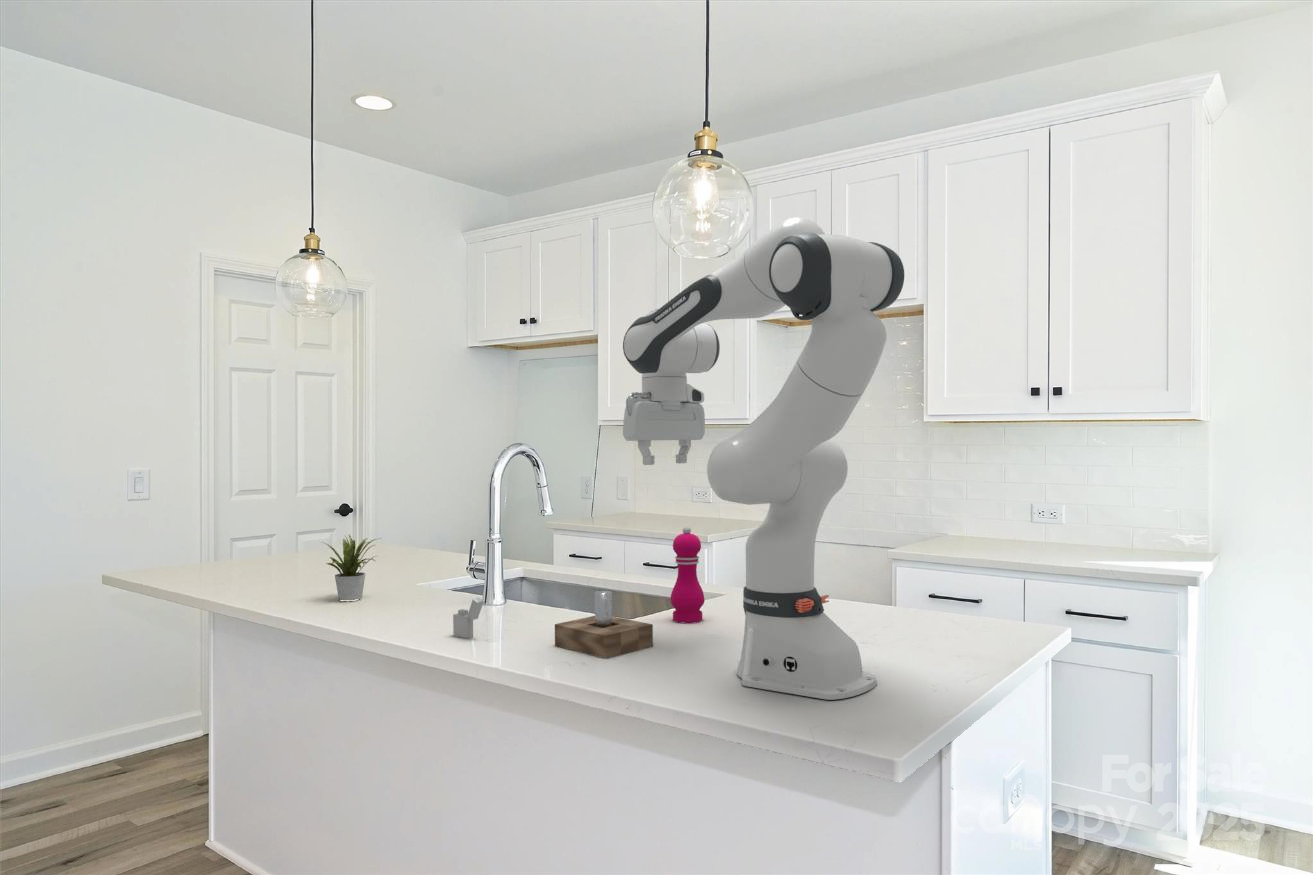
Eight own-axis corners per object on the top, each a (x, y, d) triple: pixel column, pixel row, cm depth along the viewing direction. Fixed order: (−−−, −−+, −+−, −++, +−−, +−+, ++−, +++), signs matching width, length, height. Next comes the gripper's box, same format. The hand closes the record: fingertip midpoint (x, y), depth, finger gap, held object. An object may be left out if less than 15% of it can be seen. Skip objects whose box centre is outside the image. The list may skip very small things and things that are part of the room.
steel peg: (615, 645, 161) (615, 592, 161) (603, 648, 158) (602, 594, 158) (604, 642, 163) (603, 590, 163) (591, 645, 161) (591, 592, 161)
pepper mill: (705, 616, 185) (704, 524, 185) (704, 624, 178) (702, 527, 178) (672, 616, 186) (671, 524, 186) (669, 623, 179) (668, 527, 179)
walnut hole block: (652, 645, 160) (652, 624, 160) (605, 658, 151) (605, 635, 151) (602, 634, 170) (601, 614, 170) (554, 645, 161) (554, 624, 161)
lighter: (452, 636, 170) (452, 595, 170) (459, 634, 171) (459, 594, 171) (477, 640, 166) (477, 599, 166) (484, 638, 167) (483, 597, 167)
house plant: (398, 598, 211) (397, 531, 211) (351, 607, 199) (350, 537, 199) (359, 592, 218) (359, 528, 218) (312, 602, 207) (311, 534, 207)
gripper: (638, 390, 158) (639, 465, 158) (709, 394, 173) (710, 462, 173) (614, 392, 162) (615, 465, 162) (686, 395, 177) (687, 462, 177)
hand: (665, 464), depth 168 cm, fingers open, 8 cm apart
